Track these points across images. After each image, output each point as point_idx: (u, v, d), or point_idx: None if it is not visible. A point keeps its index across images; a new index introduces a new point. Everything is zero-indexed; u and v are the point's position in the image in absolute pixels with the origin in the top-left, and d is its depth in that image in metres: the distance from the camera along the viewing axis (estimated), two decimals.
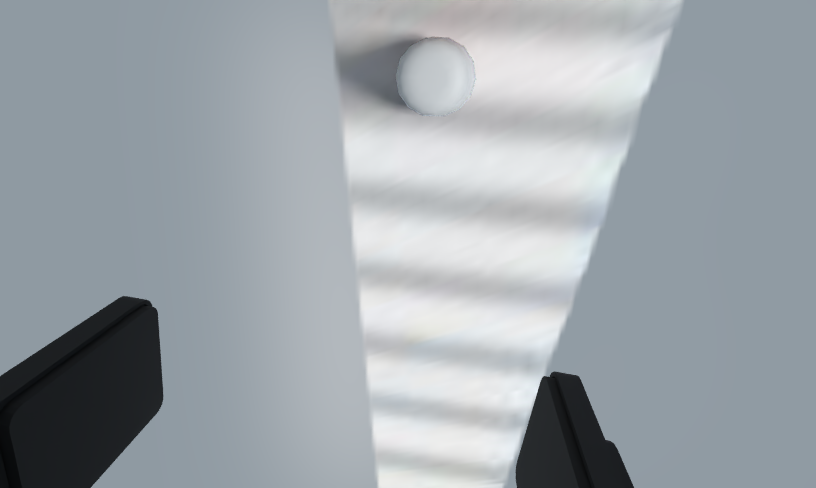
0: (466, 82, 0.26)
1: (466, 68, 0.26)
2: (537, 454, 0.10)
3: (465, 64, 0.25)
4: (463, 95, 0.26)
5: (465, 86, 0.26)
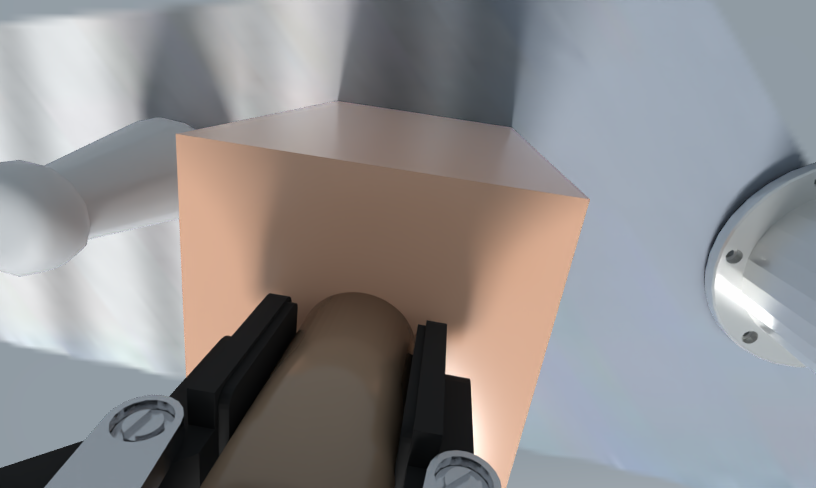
0: (12, 274, 0.17)
1: (33, 273, 0.17)
2: None
3: (36, 272, 0.17)
4: None
5: (8, 273, 0.17)
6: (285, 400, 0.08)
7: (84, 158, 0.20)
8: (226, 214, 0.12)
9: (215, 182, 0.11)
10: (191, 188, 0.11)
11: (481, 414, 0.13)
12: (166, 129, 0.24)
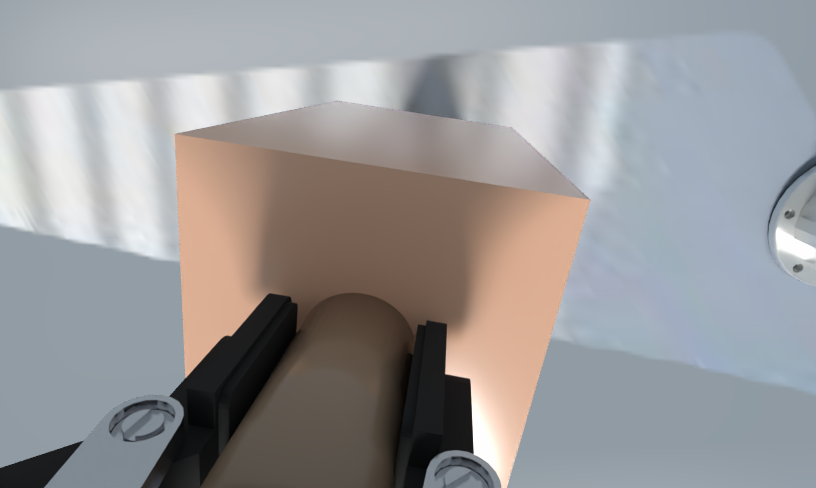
0: None
1: None
2: None
3: None
4: None
5: None
6: (285, 401, 0.08)
7: None
8: (225, 214, 0.12)
9: (215, 182, 0.11)
10: (190, 188, 0.11)
11: (481, 415, 0.13)
12: None
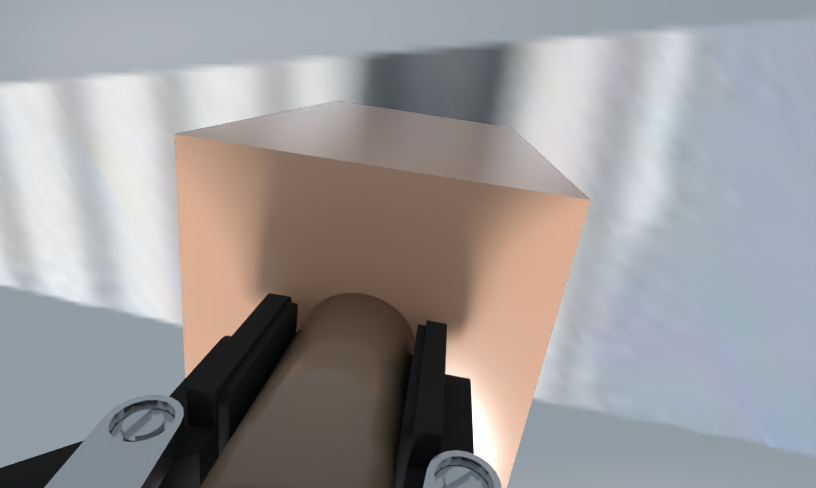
0: None
1: None
2: None
3: None
4: None
5: None
6: (284, 401, 0.08)
7: None
8: (225, 214, 0.12)
9: (215, 182, 0.11)
10: (190, 188, 0.11)
11: (481, 415, 0.13)
12: None
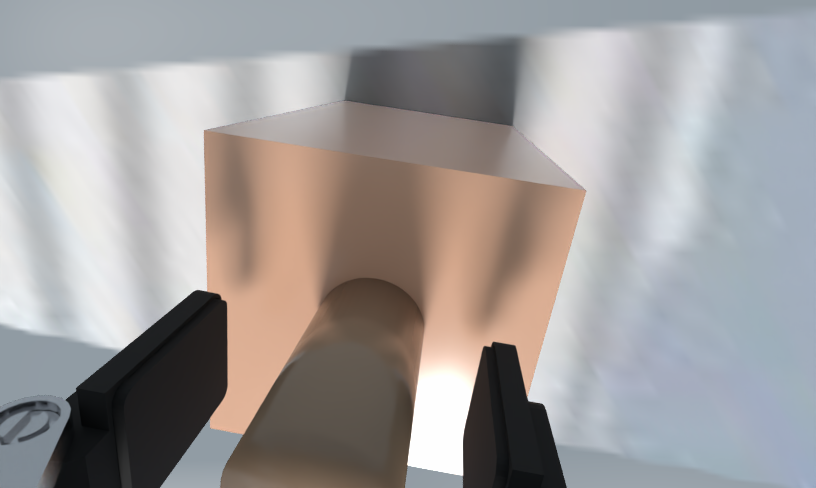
0: None
1: None
2: (475, 416, 0.10)
3: None
4: None
5: None
6: (312, 368, 0.09)
7: None
8: (249, 205, 0.13)
9: (240, 175, 0.12)
10: (217, 180, 0.12)
11: None
12: None
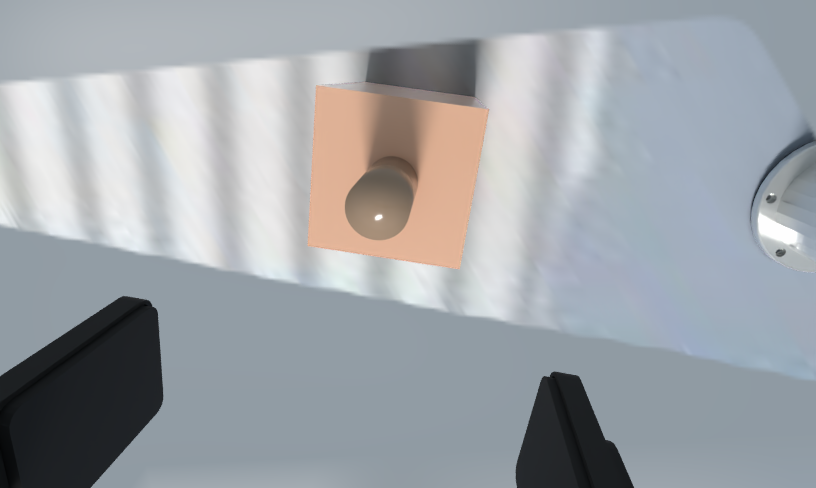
0: None
1: None
2: (537, 454, 0.10)
3: None
4: None
5: None
6: (374, 170, 0.23)
7: None
8: (335, 121, 0.27)
9: (332, 106, 0.27)
10: (321, 109, 0.27)
11: (448, 216, 0.28)
12: None
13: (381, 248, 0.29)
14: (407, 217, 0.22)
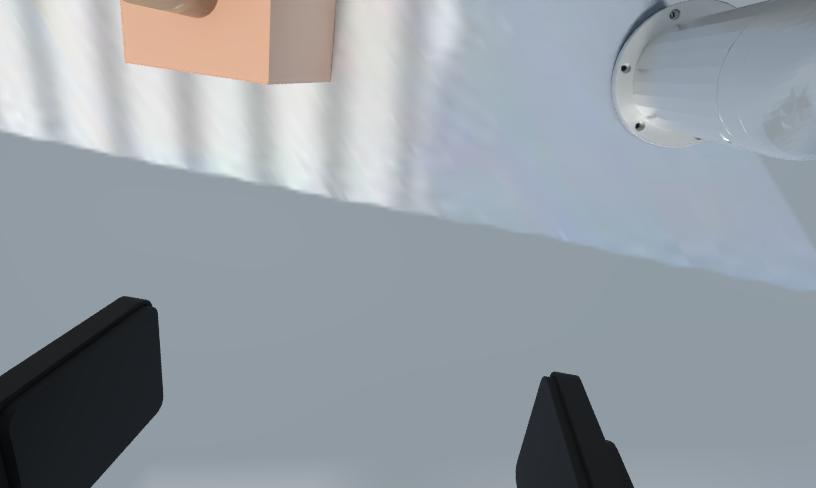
0: None
1: None
2: (537, 454, 0.10)
3: None
4: None
5: None
6: None
7: None
8: None
9: None
10: None
11: (251, 26, 0.29)
12: None
13: (193, 63, 0.30)
14: None
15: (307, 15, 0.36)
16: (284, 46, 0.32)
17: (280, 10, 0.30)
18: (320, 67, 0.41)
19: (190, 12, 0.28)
